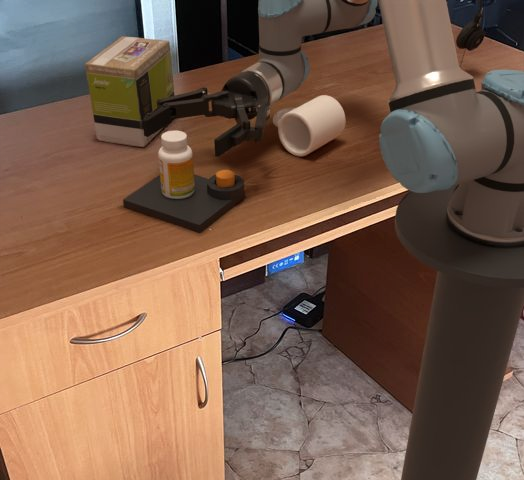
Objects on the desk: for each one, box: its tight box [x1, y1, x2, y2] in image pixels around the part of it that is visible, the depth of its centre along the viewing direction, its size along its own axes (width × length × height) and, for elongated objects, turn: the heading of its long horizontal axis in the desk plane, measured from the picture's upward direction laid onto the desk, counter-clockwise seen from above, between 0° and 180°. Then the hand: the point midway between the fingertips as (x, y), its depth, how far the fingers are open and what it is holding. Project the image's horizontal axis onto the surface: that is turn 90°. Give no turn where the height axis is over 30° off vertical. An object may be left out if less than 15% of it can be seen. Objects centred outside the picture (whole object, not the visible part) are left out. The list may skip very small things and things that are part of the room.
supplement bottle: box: [157, 130, 195, 199], centre depth 124 cm, size 5×5×10 cm
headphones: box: [455, 0, 486, 67], centre depth 165 cm, size 15×11×20 cm
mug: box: [272, 94, 347, 157], centre depth 142 cm, size 12×10×8 cm
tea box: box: [85, 35, 175, 148], centre depth 144 cm, size 15×10×15 cm, turn 161°
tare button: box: [215, 169, 236, 187], centre depth 127 cm, size 3×3×2 cm
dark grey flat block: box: [122, 173, 246, 233], centre depth 127 cm, size 15×14×3 cm
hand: (179, 138), depth 122 cm, fingers open, 13 cm apart
